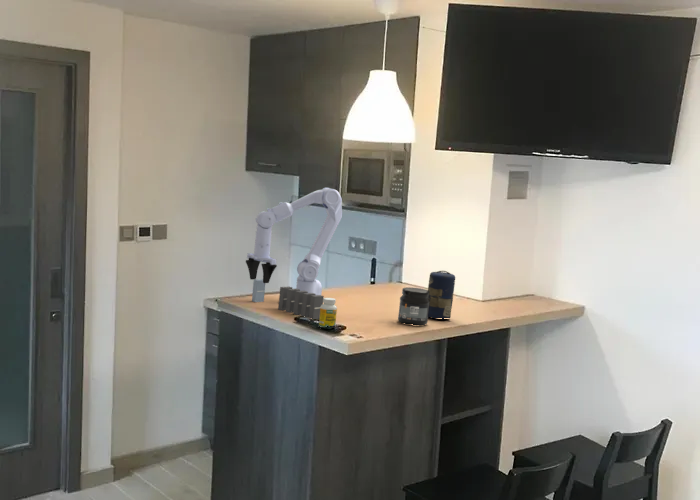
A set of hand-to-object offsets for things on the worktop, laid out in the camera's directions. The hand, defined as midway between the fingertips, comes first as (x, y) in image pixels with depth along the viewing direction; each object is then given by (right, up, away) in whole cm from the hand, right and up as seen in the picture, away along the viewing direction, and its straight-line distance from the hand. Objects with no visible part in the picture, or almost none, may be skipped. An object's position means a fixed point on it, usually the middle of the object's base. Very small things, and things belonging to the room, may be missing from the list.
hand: (259, 281), depth 279 cm
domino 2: (+10, -10, -9) cm, 17 cm away
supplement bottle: (+26, -14, -33) cm, 44 cm away
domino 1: (-1, -8, +1) cm, 8 cm away
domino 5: (+18, -11, -18) cm, 28 cm away
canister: (+65, -14, +2) cm, 67 cm away
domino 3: (+13, -10, -12) cm, 21 cm away
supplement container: (+55, -15, -11) cm, 58 cm away
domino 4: (+16, -11, -15) cm, 24 cm away
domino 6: (+21, -12, -21) cm, 32 cm away
